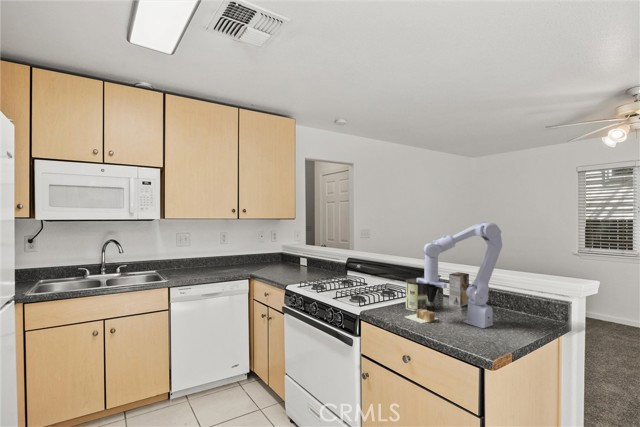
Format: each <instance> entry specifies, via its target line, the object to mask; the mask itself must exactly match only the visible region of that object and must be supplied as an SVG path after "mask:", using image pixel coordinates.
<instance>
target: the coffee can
mask: <svg viewBox="0 0 640 427" xmlns="http://www.w3.org/2000/svg"><path fill="white" fill-rule="evenodd" d="M423 285H425V284H424V283H418V282H417V277H416V278H414V277H413V278H412V277H411V278H406V279H405V309H406V310H408V311H411V312H417V310H418V309H425V310H427V301H428V298H427V295H426V292H425V290H424V288H423Z"/></svg>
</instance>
